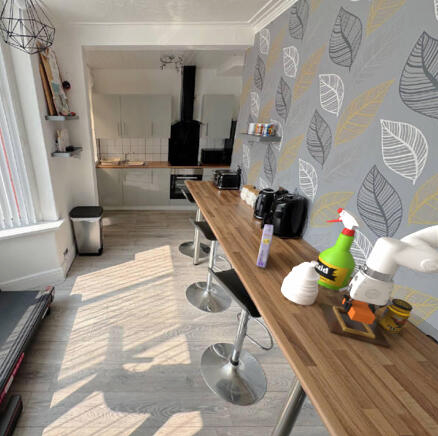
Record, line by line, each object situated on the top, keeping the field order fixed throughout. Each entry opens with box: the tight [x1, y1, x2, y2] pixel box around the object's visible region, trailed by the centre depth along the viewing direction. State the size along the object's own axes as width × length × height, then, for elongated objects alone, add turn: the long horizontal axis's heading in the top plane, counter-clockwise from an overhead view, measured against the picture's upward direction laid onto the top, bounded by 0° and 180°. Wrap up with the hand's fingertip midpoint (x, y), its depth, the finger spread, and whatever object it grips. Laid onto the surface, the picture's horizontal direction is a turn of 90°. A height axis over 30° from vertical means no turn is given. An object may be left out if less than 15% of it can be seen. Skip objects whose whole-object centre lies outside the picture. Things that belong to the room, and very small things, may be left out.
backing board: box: [319, 302, 391, 349], centre depth 89 cm, size 17×15×2 cm
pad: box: [341, 297, 376, 325], centre depth 86 cm, size 6×9×4 cm, turn 159°
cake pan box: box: [255, 224, 274, 269], centre depth 126 cm, size 19×5×18 cm, turn 152°
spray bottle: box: [314, 207, 365, 291], centre depth 108 cm, size 14×18×35 cm
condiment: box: [377, 298, 413, 334], centre depth 87 cm, size 7×8×12 cm
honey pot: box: [280, 260, 320, 306], centre depth 100 cm, size 13×13×18 cm
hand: (356, 311), depth 87 cm, fingers closed on pad, 6 cm apart
